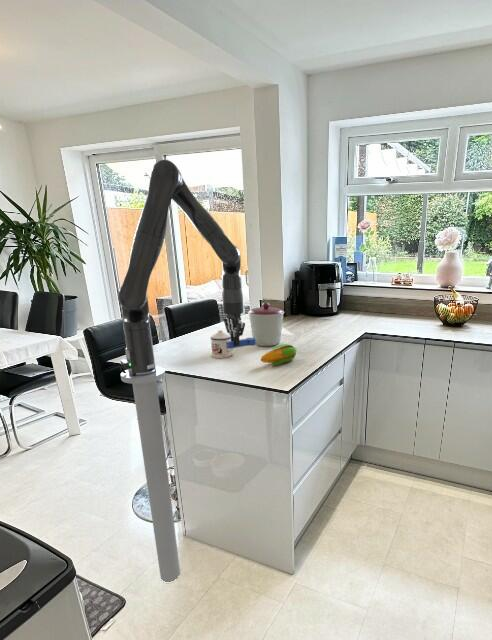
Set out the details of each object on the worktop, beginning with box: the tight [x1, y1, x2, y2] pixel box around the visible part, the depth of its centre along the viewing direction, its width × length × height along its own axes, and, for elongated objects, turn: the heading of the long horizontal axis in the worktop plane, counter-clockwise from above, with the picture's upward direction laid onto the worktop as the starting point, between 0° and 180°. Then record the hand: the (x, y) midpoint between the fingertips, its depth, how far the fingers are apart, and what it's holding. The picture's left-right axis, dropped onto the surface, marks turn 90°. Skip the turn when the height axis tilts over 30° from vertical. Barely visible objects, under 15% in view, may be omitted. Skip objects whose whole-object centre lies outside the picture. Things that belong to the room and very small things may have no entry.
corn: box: [260, 343, 298, 366], centre depth 169 cm, size 7×8×20 cm
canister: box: [247, 301, 285, 347], centre depth 199 cm, size 18×18×21 cm
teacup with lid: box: [210, 329, 235, 359], centre depth 178 cm, size 12×9×12 cm
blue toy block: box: [226, 337, 257, 349], centre depth 157 cm, size 12×4×2 cm, turn 128°
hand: (235, 345), depth 155 cm, fingers closed on blue toy block, 2 cm apart
